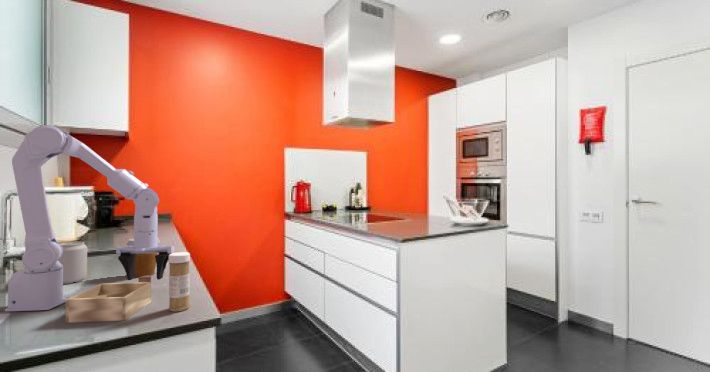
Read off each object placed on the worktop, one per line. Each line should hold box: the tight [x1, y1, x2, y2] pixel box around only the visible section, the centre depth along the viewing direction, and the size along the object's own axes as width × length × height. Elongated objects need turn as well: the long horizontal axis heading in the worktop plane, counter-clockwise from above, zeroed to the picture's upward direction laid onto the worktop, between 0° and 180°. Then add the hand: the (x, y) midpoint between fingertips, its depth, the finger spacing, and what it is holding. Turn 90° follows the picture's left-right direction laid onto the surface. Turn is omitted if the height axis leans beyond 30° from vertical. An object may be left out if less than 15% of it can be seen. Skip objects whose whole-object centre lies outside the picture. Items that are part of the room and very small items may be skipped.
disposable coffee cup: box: [126, 236, 161, 278], centre depth 112 cm, size 10×10×12 cm
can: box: [58, 241, 88, 285], centre depth 104 cm, size 8×8×12 cm
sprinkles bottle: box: [168, 251, 191, 313], centre depth 81 cm, size 5×5×14 cm
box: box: [65, 281, 152, 324], centre depth 79 cm, size 12×12×5 cm
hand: (145, 278), depth 95 cm, fingers open, 7 cm apart
